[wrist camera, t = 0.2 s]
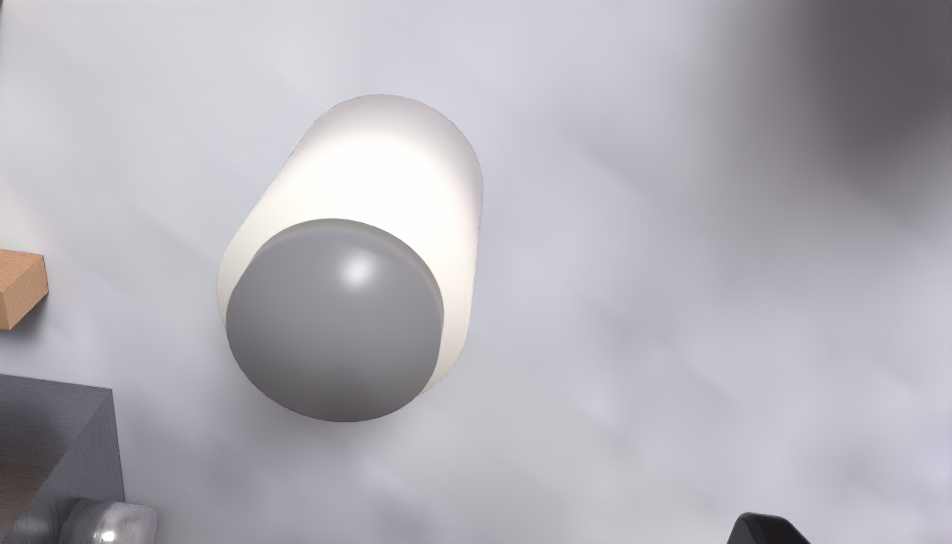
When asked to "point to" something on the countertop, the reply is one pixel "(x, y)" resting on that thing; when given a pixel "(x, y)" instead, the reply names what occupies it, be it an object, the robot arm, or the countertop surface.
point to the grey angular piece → (58, 445)
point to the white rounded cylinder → (357, 262)
